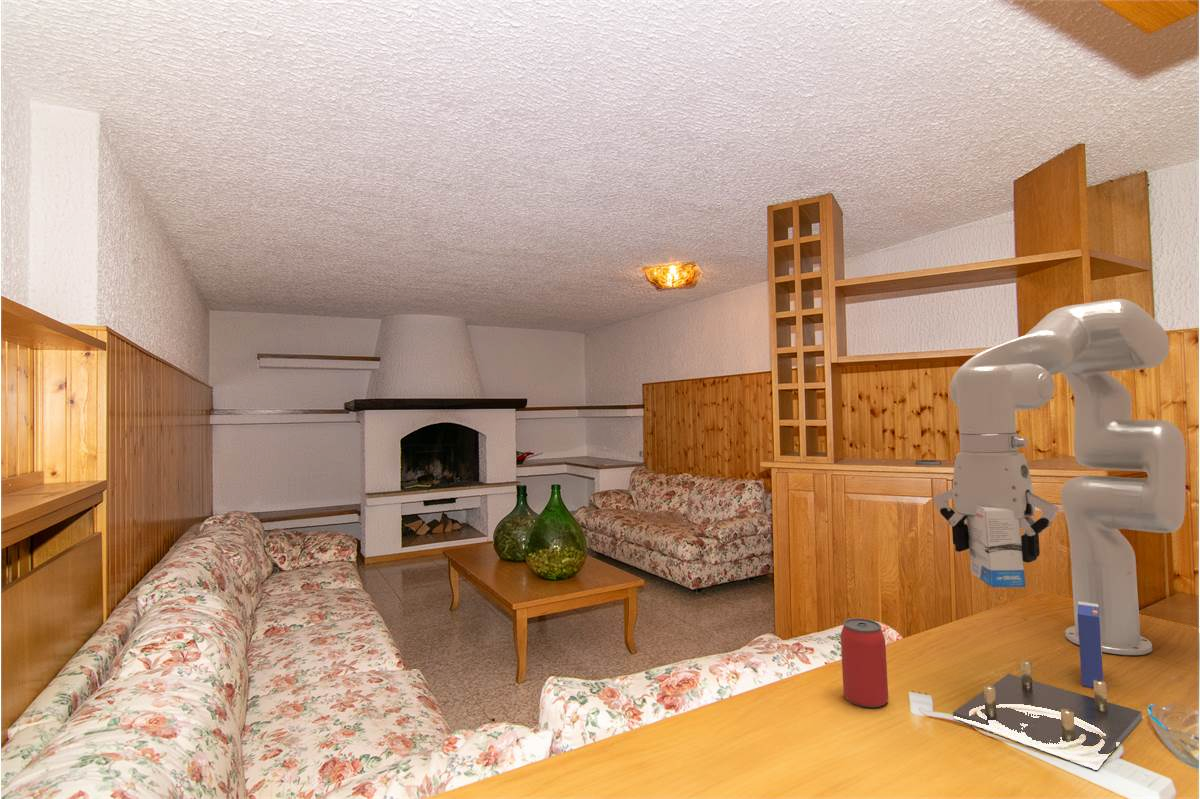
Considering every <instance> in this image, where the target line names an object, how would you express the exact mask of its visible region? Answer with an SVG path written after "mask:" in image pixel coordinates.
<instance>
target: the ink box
mask: <svg viewBox="0 0 1200 799" xmlns="http://www.w3.org/2000/svg"><path fill="white" fill-rule="evenodd" d="M966 524H967V527H968V541H969V549H968V551H969V552H968V553H969V564H970V565H969V566H970V574H972V575H973V576H975V577H976V578H978V579H979V580H980V581H982V582H983V583H985V584H986V585H988V586H990V588H1026V581H1025V580H1026V576H1025V568H1024V561H1023V556H1022V541H1021V536H1022V535H1021V534H1022V532H1021V528H1020V520H1018V519H1015V518H1014V514H1013V511H1012V510H1009V509H1002V508H993V507H984V506H977V508H976V516H975V517H971V516H968V517H967V519H966Z"/></svg>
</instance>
